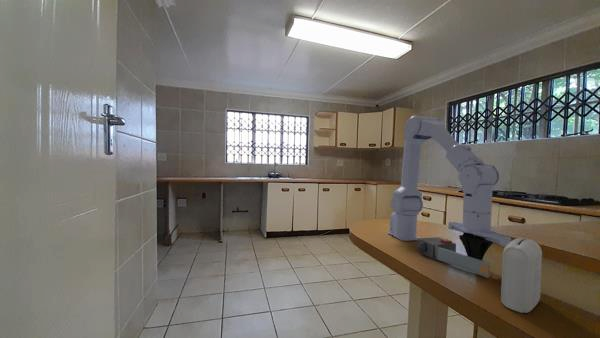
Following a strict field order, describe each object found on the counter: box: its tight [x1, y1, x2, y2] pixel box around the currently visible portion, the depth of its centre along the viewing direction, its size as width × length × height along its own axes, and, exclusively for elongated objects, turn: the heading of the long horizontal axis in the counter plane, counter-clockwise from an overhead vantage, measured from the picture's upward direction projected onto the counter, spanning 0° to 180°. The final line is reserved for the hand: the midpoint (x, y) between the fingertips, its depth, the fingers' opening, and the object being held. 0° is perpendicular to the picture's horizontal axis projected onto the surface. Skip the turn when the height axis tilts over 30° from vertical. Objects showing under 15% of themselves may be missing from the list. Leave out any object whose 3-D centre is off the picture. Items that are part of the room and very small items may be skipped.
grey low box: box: [416, 236, 457, 260], centre depth 68 cm, size 6×9×5 cm, turn 103°
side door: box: [434, 245, 491, 279], centre depth 59 cm, size 1×12×4 cm, turn 29°
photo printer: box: [500, 237, 543, 314], centre depth 44 cm, size 10×4×12 cm, turn 123°
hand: (474, 264), depth 58 cm, fingers closed
